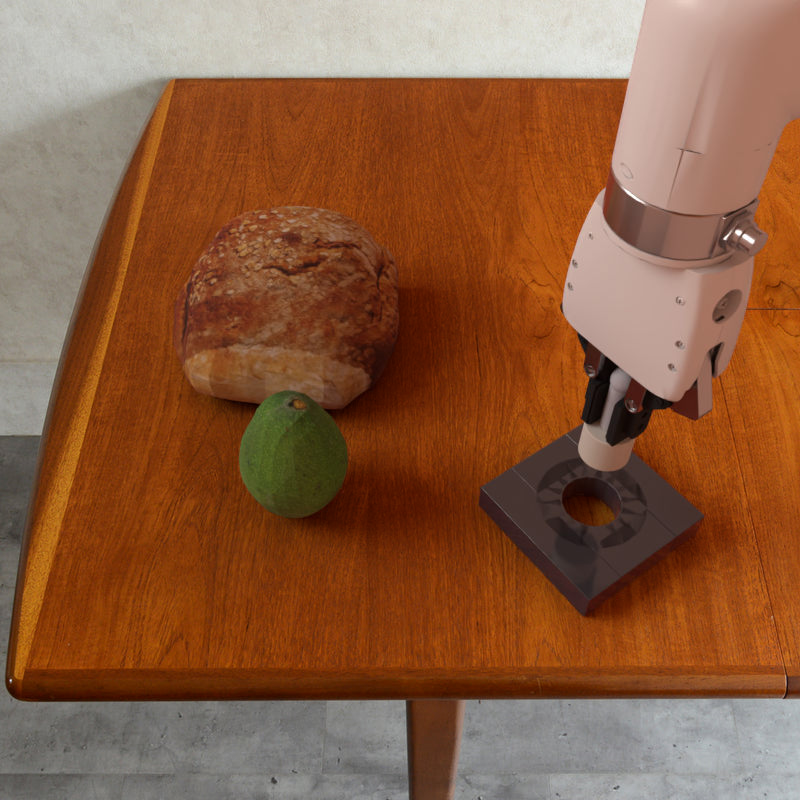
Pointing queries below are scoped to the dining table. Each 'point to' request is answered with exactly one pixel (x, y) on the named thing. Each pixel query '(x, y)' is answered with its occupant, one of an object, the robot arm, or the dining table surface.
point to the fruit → (292, 455)
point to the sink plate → (583, 544)
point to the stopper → (593, 435)
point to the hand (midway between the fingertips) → (612, 422)
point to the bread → (288, 308)
